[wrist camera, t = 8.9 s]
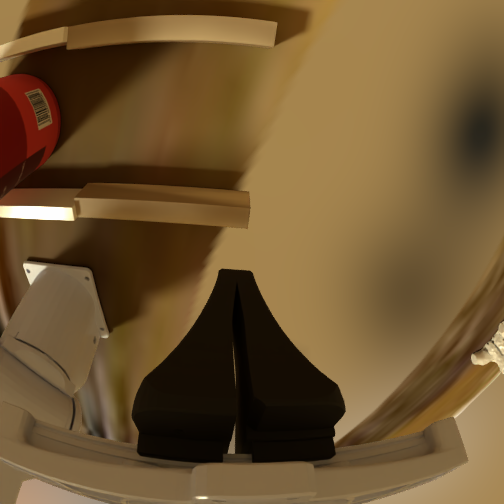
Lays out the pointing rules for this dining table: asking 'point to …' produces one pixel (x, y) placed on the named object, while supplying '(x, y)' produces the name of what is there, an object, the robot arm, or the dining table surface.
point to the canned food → (25, 127)
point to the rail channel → (160, 196)
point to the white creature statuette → (492, 350)
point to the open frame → (38, 199)
